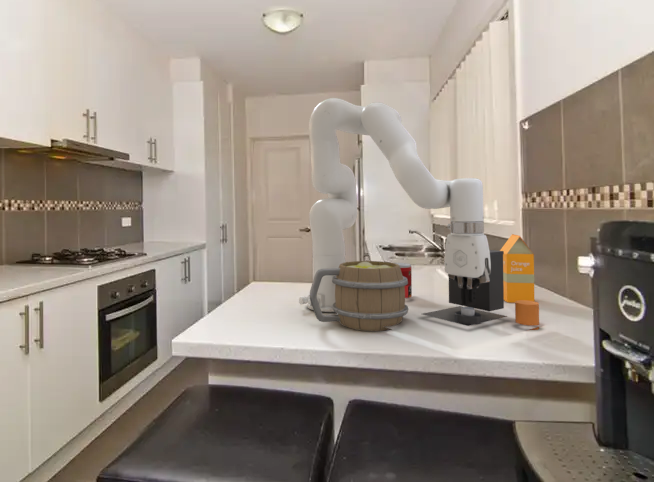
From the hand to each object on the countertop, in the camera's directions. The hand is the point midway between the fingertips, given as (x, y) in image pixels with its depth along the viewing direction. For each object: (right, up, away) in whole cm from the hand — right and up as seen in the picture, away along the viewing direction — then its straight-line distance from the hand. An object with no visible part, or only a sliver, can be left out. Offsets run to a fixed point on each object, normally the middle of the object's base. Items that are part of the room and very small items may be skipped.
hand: (468, 304), depth 110 cm
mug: (-26, -6, +3) cm, 27 cm away
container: (+13, -5, -2) cm, 14 cm away
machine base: (+1, -5, +6) cm, 8 cm away
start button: (0, -3, 0) cm, 3 cm away
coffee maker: (+5, -2, +9) cm, 10 cm away
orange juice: (+27, -6, +29) cm, 40 cm away
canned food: (-9, -6, +32) cm, 33 cm away
